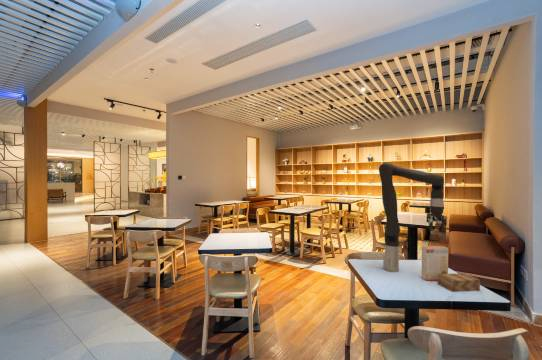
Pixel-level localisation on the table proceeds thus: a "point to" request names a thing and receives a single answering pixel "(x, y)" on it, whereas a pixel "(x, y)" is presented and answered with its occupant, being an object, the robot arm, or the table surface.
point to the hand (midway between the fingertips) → (435, 230)
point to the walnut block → (458, 282)
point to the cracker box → (434, 262)
